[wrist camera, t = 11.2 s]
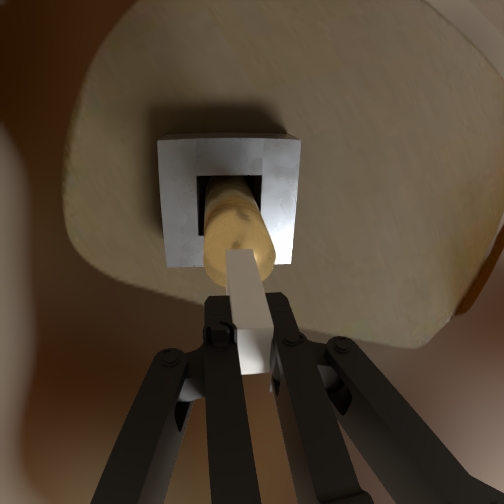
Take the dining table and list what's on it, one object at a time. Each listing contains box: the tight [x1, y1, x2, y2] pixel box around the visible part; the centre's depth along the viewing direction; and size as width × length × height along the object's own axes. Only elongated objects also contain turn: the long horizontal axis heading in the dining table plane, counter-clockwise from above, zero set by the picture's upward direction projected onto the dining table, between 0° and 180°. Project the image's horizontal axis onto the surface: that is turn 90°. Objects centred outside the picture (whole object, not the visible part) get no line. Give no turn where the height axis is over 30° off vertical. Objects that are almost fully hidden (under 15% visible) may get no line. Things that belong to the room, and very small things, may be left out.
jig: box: [157, 133, 301, 267], centre depth 29 cm, size 12×12×4 cm
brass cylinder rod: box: [203, 175, 276, 288], centre depth 25 cm, size 4×4×14 cm
